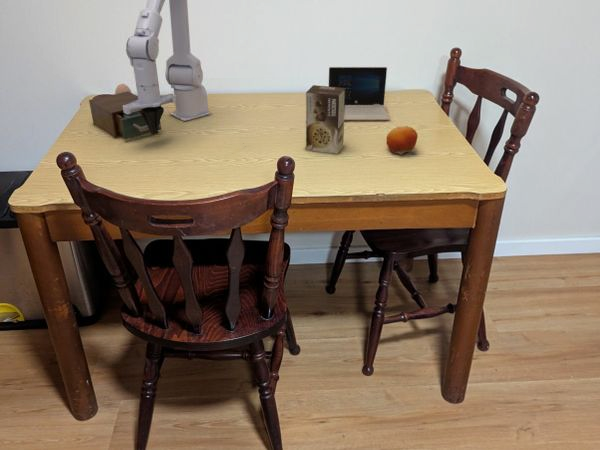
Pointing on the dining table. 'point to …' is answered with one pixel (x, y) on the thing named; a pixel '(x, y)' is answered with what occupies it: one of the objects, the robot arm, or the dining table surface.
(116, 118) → the drawer
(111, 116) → the cabinet
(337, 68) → the laptop
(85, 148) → the dining table surface
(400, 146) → the fruit
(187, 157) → the dining table surface
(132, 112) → the grey plastic pail
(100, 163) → the dining table surface
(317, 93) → the cookie box
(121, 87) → the egg
